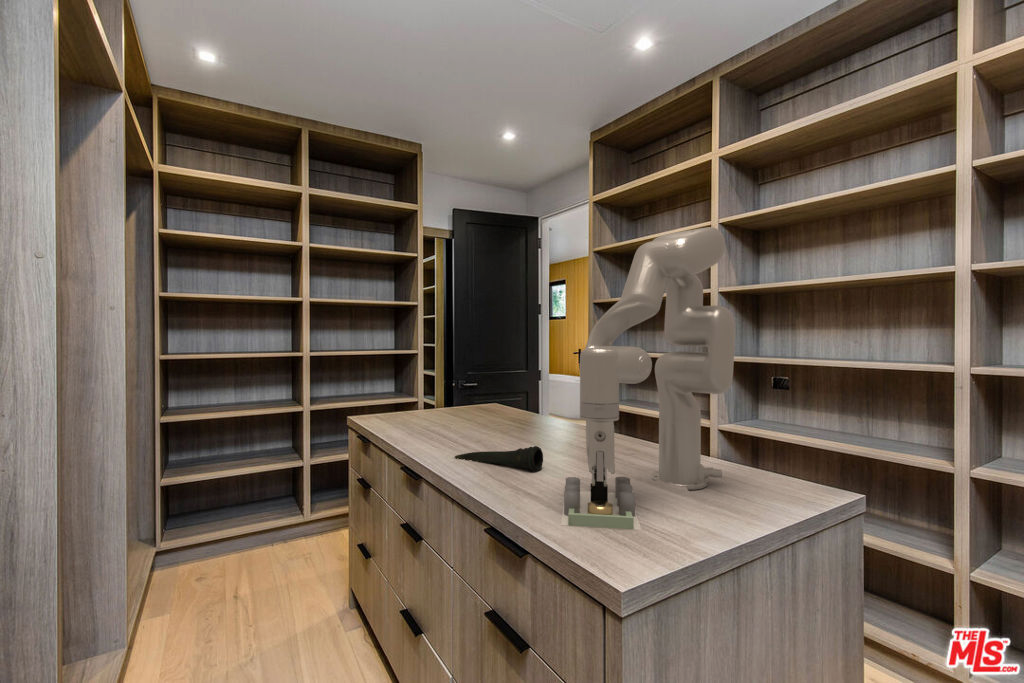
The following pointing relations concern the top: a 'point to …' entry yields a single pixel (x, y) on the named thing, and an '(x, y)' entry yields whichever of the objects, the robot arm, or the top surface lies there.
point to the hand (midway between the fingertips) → (599, 505)
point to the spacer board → (578, 514)
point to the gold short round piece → (600, 508)
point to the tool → (509, 457)
